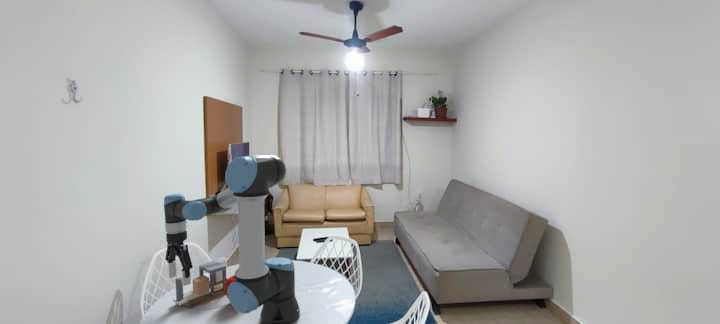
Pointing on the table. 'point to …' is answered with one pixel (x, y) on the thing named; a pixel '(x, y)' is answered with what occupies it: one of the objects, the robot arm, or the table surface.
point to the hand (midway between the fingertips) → (179, 280)
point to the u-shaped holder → (199, 289)
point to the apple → (229, 283)
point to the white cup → (222, 261)
